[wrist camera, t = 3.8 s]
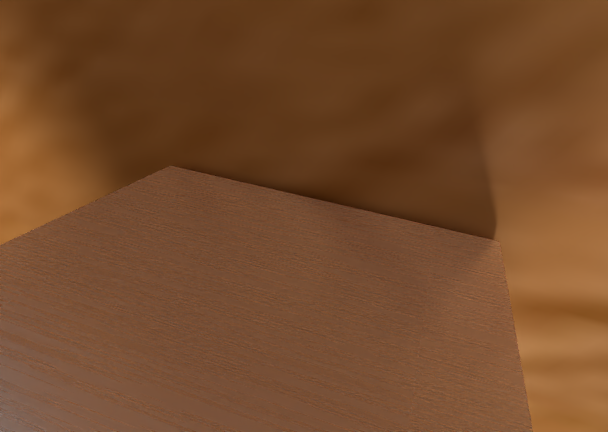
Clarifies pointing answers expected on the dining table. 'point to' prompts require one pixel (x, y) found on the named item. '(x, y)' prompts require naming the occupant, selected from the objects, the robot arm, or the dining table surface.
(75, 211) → the cube with round boss
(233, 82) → the dining table surface
